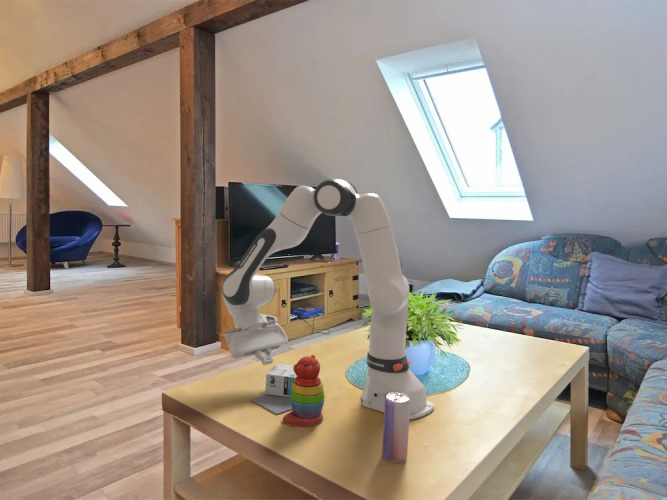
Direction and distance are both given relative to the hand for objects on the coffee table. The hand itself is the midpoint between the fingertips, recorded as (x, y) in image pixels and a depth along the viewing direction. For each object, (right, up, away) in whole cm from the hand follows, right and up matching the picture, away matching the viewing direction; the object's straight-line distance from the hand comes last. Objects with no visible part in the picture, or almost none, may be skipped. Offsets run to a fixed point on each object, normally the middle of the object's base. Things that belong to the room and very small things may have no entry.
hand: (268, 363), depth 154 cm
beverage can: (+35, -15, -35) cm, 51 cm away
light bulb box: (0, -5, +3) cm, 6 cm away
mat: (+5, -10, -5) cm, 12 cm away
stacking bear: (+12, -12, -16) cm, 24 cm away
